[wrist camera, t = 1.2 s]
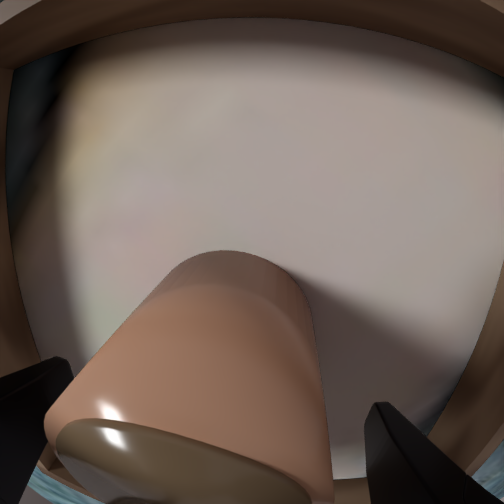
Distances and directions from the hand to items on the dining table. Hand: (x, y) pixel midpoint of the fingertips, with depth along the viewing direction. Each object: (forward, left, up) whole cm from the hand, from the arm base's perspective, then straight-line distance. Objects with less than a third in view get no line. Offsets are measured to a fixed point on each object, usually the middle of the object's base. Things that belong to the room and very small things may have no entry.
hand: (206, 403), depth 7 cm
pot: (0, 0, -4) cm, 4 cm away
